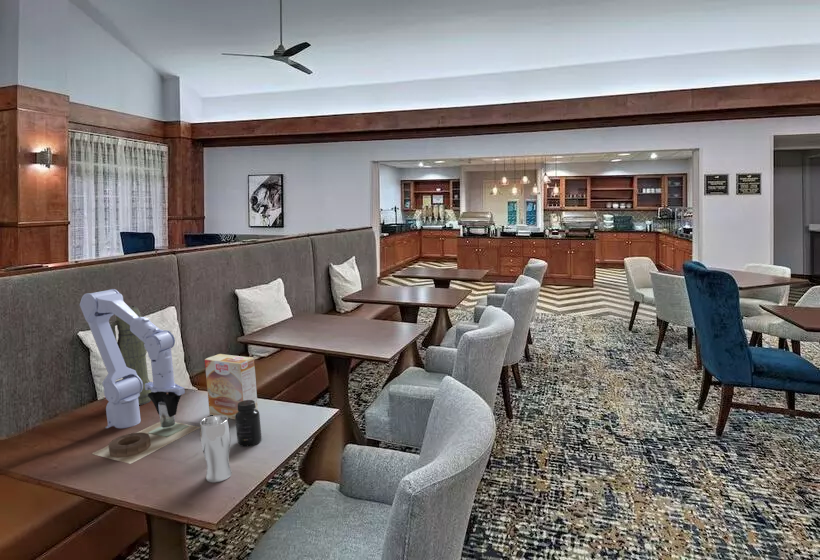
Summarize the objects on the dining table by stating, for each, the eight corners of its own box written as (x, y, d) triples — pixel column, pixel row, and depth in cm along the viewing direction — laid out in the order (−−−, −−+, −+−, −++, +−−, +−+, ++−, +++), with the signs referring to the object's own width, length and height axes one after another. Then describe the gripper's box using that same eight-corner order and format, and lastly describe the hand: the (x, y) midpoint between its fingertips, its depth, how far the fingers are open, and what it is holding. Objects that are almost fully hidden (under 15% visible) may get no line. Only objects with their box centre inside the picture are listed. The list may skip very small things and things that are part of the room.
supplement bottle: (242, 436, 149) (239, 398, 147) (264, 436, 148) (262, 398, 147) (233, 447, 142) (230, 407, 140) (257, 447, 142) (254, 407, 140)
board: (91, 457, 139) (89, 445, 138) (164, 422, 160) (163, 412, 160) (130, 467, 132) (129, 455, 132) (201, 430, 154) (200, 419, 153)
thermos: (161, 398, 182) (151, 304, 177) (128, 409, 172) (117, 311, 167) (147, 394, 187) (137, 303, 182) (115, 405, 177) (103, 309, 172)
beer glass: (209, 470, 129) (204, 415, 127) (236, 468, 130) (231, 413, 128) (200, 484, 123) (194, 427, 121) (229, 482, 123) (224, 425, 121)
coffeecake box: (208, 415, 165) (203, 359, 162) (224, 407, 171) (219, 353, 169) (244, 421, 159) (239, 363, 156) (259, 413, 166) (254, 356, 163)
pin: (157, 426, 151) (154, 401, 150) (168, 420, 155) (165, 396, 154) (167, 428, 150) (164, 403, 148) (178, 422, 153) (175, 398, 152)
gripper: (134, 373, 149) (139, 416, 151) (168, 378, 143) (173, 423, 145) (154, 366, 156) (158, 407, 157) (188, 370, 150) (192, 413, 152)
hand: (167, 414), depth 152 cm, fingers closed on pin, 4 cm apart
